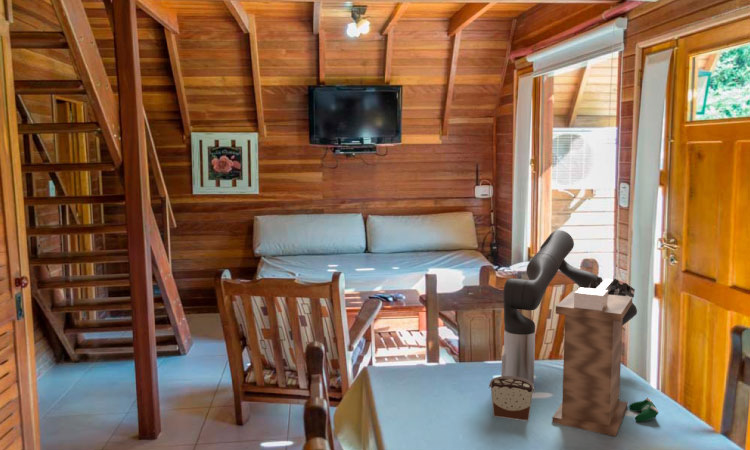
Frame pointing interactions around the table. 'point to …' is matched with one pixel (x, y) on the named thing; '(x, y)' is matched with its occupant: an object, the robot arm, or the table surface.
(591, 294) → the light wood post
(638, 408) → the gaming controller
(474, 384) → the table surface
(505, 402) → the food container
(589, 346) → the stand
